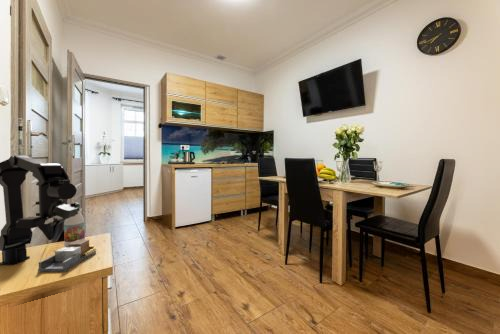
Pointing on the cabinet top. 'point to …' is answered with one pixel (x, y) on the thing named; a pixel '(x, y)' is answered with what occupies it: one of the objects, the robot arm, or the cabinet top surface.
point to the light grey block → (66, 253)
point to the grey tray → (64, 262)
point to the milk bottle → (74, 229)
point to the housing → (80, 245)
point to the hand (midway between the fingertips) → (51, 239)
